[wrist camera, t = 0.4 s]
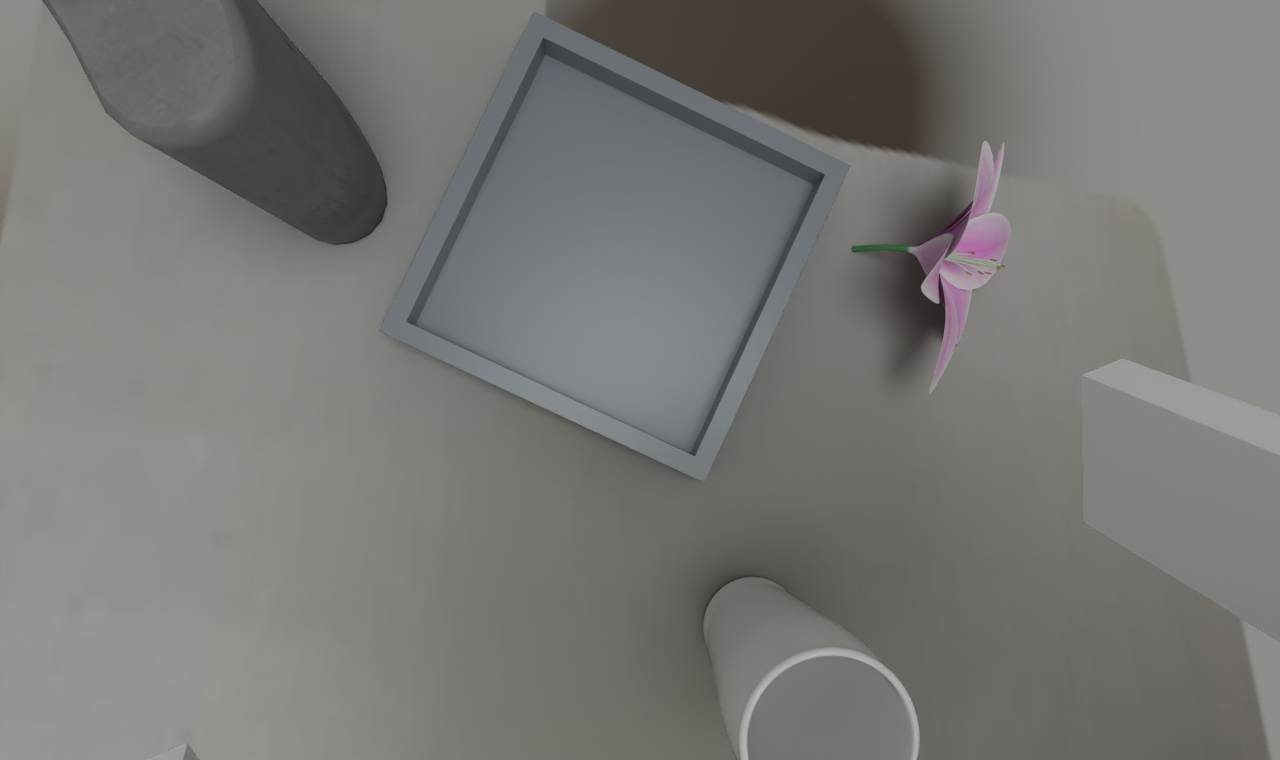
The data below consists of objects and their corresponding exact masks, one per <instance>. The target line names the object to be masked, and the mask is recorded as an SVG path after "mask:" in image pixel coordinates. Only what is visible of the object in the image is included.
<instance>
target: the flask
mask: <svg viewBox="0 0 1280 760" xmlns="http://www.w3.org/2000/svg"><path fill="white" fill-rule="evenodd" d="M42 1H43V2H44V4H45V5H46V6H47V8H48V9H49V11H50V12H51V14H52V15H53V17H54V18H55V20H56V21H57V23H58V24H59V26H60V28H61V29H62V31H63V32H64V34H65V35H66V37H67V38H68V40H69V41H70V43H71V45H72V47H73V49H74V51H75V53H76V55H77V57H78V59H79V61H80V63H81V65H82V67H83V69H84V71H85V73H86V75H87V77H88V79H89V81H90V83H91V85H92V87H93V89H94V90H95V92H96V94H97V96H98V98H99V100H100V102H101V104H102V106H103V108H104V110H105V111H106V113H107V114H108V115H109V116H110V117H112V118H113V119H114V120H115V121H116V122H117V123H119V124H120V125H121V126H122V127H123V128H124V129H125V130H127V131H128V132H129V133H130V134H131V135H133V136H135V137H136V138H138V139H140V140H142V141H143V142H145V143H147V144H149V145H151V146H152V147H154V148H156V149H158V150H159V151H161V152H163V153H165V154H166V155H168V156H170V157H172V158H173V159H175V160H177V161H179V162H181V163H182V164H184V165H186V166H188V167H189V168H191V169H193V170H195V171H196V172H198V173H200V174H202V175H204V176H205V177H207V178H209V179H211V180H212V181H214V182H216V183H218V184H219V185H221V186H223V187H225V188H226V189H228V190H230V191H232V192H234V193H235V194H237V195H239V196H241V197H242V198H244V199H246V200H248V201H249V202H251V203H253V204H255V205H256V206H258V207H260V208H262V209H264V210H265V211H267V212H269V213H271V214H272V215H274V216H276V217H278V218H279V219H281V220H283V221H285V222H287V223H288V224H290V225H292V226H294V227H295V228H297V229H299V230H301V231H302V232H304V233H306V234H308V235H309V236H311V237H313V238H315V239H317V240H320V241H323V242H327V243H331V244H334V245H335V244H345V243H353V242H355V241H357V240H359V239H361V238H363V237H365V236H366V235H368V234H370V233H371V231H372V230H373V229H374V228H375V227H376V226H377V224H378V223H379V222H380V221H381V219H382V216H383V213H384V210H385V207H386V204H387V202H386V186H385V182H384V179H383V175H382V172H381V168H380V165H379V163H378V161H377V160H376V158H375V156H374V154H373V152H372V150H371V148H370V146H369V144H368V142H367V140H366V139H365V137H364V135H363V134H362V132H361V130H360V128H359V127H358V125H357V124H356V122H355V121H354V119H353V118H352V116H351V115H350V113H349V112H348V110H347V109H346V107H345V106H344V104H343V103H342V102H341V100H340V99H339V98H338V96H337V95H336V94H335V92H334V91H333V90H332V88H331V87H330V86H329V85H328V84H327V82H326V81H325V80H324V79H323V78H322V76H321V75H320V74H319V73H318V72H317V71H316V69H315V68H314V67H313V66H312V65H311V64H310V62H309V61H308V60H307V59H306V58H305V57H304V55H303V54H302V53H301V52H300V51H299V50H298V48H297V47H296V46H295V45H294V44H293V42H292V41H291V40H290V39H289V38H288V37H287V35H286V34H285V33H284V32H283V31H282V30H281V28H280V27H279V26H278V25H277V24H276V23H275V21H274V20H273V19H272V18H271V17H270V16H269V14H268V13H267V12H266V11H265V10H264V8H263V7H262V6H261V5H260V4H259V3H258V1H257V0H42Z"/></svg>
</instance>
